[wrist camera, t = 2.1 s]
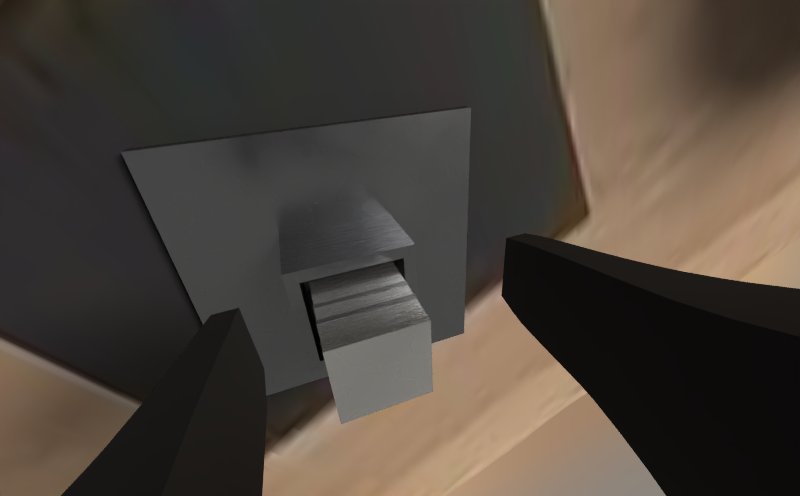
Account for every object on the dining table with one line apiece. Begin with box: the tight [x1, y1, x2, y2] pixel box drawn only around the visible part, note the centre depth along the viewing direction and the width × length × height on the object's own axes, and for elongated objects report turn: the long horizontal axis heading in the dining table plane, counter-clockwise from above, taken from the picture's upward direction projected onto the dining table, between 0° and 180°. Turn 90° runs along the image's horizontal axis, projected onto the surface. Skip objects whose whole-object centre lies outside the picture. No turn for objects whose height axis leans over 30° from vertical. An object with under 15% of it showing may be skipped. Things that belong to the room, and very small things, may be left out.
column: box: [309, 261, 433, 424], centre depth 16 cm, size 4×4×8 cm
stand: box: [121, 106, 471, 396], centre depth 18 cm, size 16×16×5 cm
